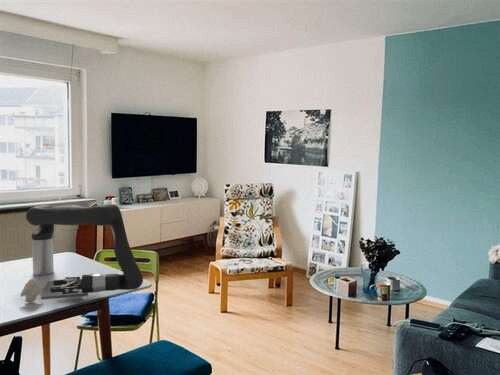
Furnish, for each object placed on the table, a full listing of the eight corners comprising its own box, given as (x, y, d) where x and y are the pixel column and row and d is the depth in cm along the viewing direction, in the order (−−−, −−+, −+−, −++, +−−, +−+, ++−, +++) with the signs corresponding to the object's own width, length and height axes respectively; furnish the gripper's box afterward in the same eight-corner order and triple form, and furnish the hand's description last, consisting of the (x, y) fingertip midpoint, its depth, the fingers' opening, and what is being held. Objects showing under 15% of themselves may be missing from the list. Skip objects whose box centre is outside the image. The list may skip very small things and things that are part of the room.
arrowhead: (20, 305, 180) (19, 280, 179) (20, 303, 182) (19, 279, 181) (42, 301, 184) (42, 278, 183) (42, 299, 186) (41, 276, 185)
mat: (47, 282, 207) (47, 280, 207) (89, 279, 213) (89, 277, 213) (41, 298, 187) (41, 296, 187) (87, 295, 193) (87, 292, 193)
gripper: (94, 269, 196) (53, 272, 191) (93, 280, 183) (49, 283, 178) (94, 286, 197) (54, 289, 192) (93, 297, 183) (50, 301, 179)
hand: (52, 286), depth 185 cm, fingers open, 8 cm apart
